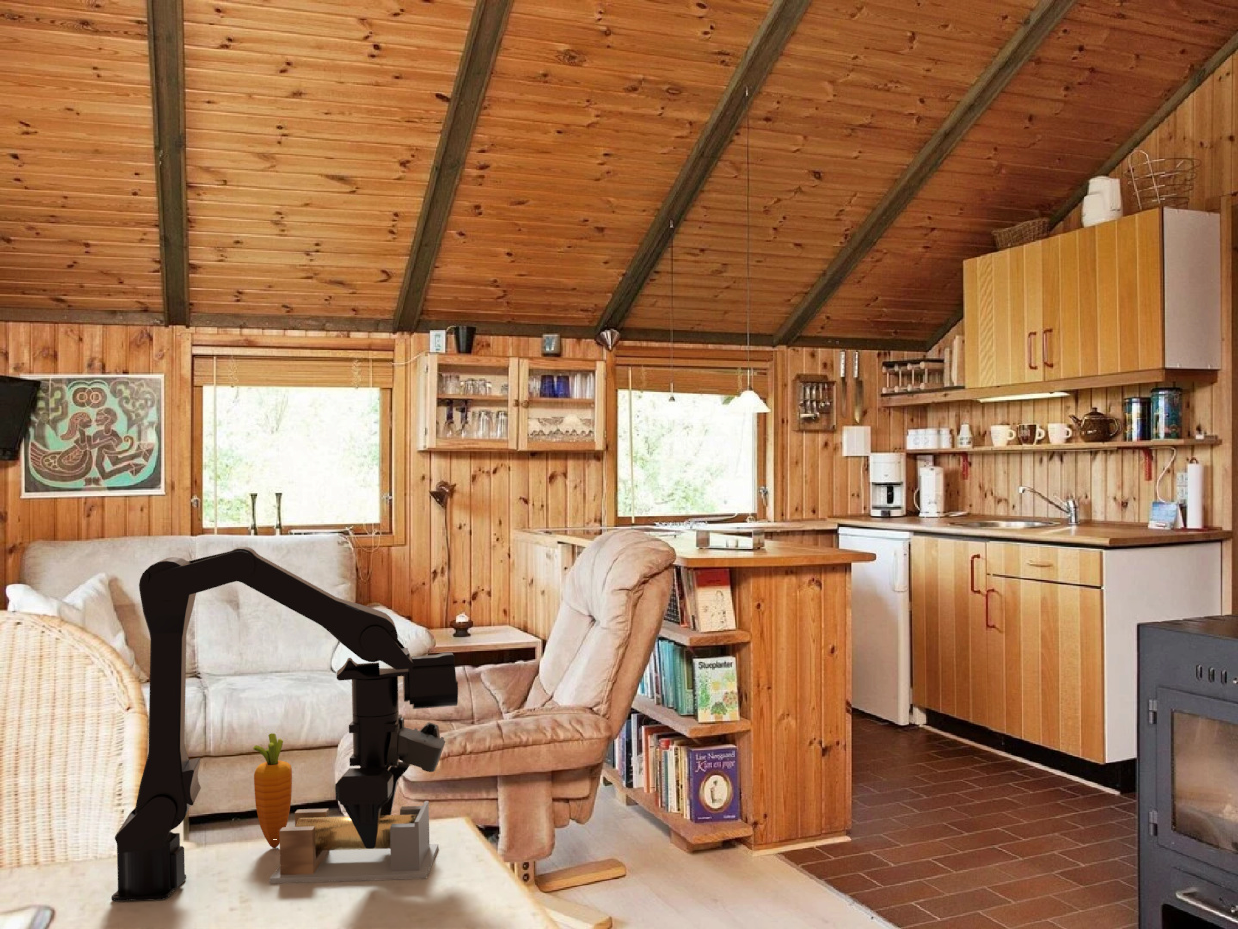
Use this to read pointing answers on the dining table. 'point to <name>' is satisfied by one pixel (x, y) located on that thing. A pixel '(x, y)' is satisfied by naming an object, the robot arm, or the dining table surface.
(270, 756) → the carrot
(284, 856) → the wooden u-shaped cradle
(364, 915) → the dining table surface
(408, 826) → the socket
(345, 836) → the tube
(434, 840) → the dining table surface
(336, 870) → the board
